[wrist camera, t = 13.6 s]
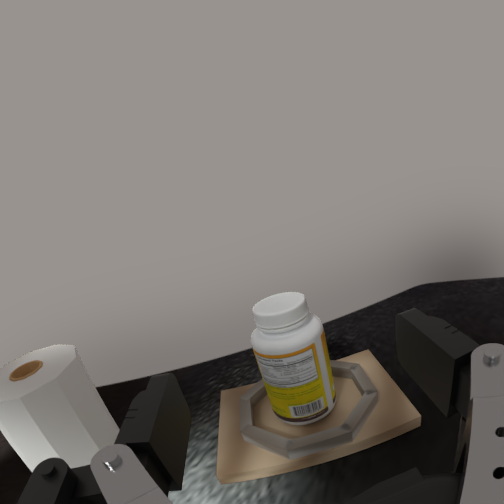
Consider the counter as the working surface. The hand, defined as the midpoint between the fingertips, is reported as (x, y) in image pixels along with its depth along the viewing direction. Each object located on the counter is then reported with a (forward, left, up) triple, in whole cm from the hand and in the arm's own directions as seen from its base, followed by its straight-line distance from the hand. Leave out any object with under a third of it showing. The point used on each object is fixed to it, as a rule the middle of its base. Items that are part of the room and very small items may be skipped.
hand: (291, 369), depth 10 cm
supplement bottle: (+1, +12, -13) cm, 18 cm away
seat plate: (+1, +13, -14) cm, 19 cm away
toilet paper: (-20, +9, -14) cm, 26 cm away
